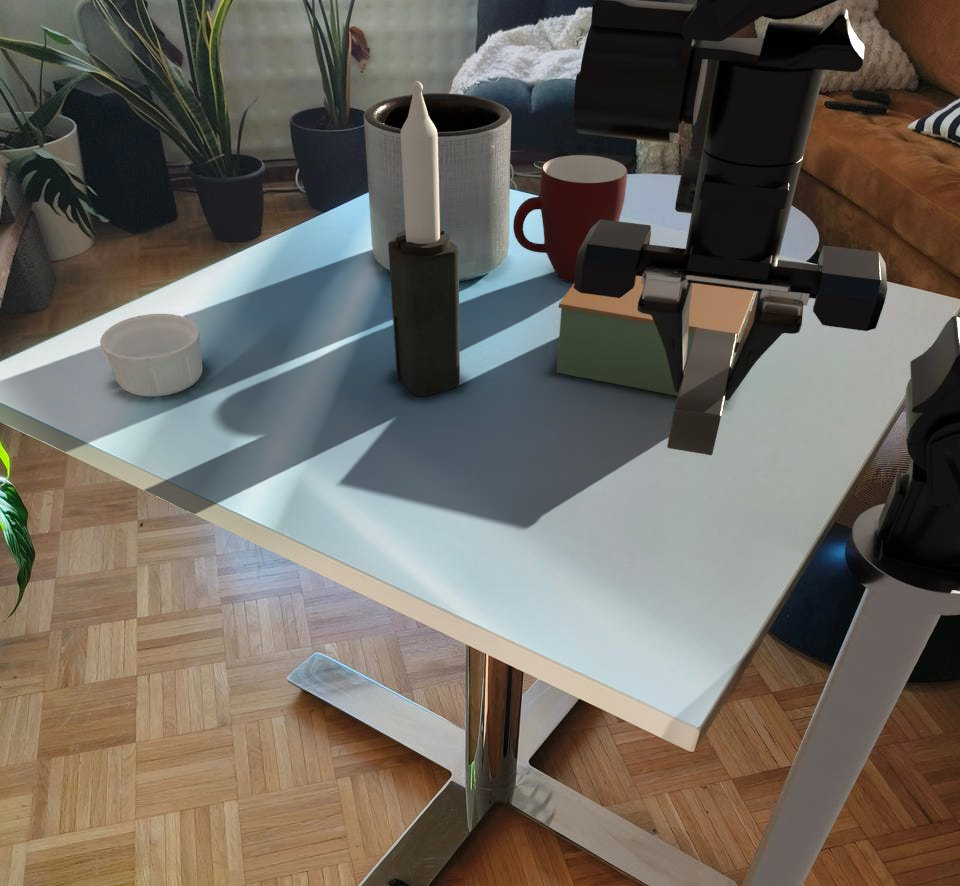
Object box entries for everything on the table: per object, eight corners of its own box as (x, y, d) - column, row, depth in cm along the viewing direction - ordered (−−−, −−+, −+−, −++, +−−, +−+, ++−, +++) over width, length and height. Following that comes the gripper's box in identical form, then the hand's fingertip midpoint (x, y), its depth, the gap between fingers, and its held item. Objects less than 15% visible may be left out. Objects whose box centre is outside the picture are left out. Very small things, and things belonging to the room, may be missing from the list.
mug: (525, 297, 99) (529, 188, 91) (503, 264, 105) (506, 159, 97) (627, 287, 101) (640, 179, 93) (600, 255, 107) (610, 152, 99)
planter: (344, 264, 105) (330, 115, 94) (430, 223, 114) (426, 83, 103) (452, 300, 98) (450, 145, 87) (534, 254, 107) (541, 108, 96)
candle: (464, 385, 85) (462, 84, 68) (416, 399, 83) (402, 93, 66) (439, 362, 88) (431, 69, 71) (392, 375, 86) (372, 77, 69)
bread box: (747, 347, 91) (762, 279, 86) (725, 406, 83) (741, 335, 78) (589, 320, 95) (595, 253, 90) (553, 373, 87) (558, 303, 82)
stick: (688, 364, 68) (695, 327, 66) (728, 370, 67) (737, 332, 65) (666, 448, 60) (674, 408, 58) (712, 455, 59) (721, 415, 57)
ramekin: (222, 384, 85) (213, 341, 82) (131, 410, 81) (117, 366, 78) (188, 347, 90) (178, 305, 87) (100, 370, 87) (87, 328, 84)
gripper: (915, 126, 55) (840, 360, 67) (617, 99, 59) (594, 325, 70) (925, 185, 48) (839, 438, 59) (583, 150, 51) (563, 395, 62)
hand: (702, 394), depth 63 cm, fingers closed on stick, 3 cm apart
